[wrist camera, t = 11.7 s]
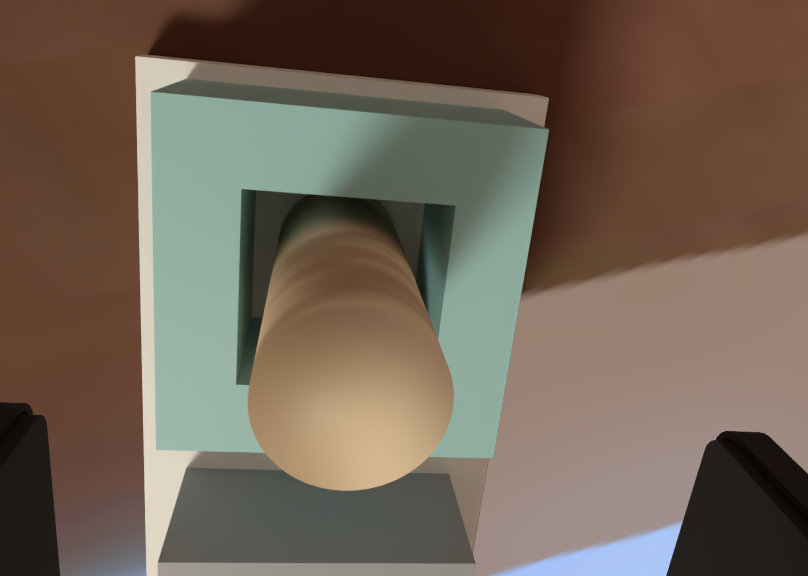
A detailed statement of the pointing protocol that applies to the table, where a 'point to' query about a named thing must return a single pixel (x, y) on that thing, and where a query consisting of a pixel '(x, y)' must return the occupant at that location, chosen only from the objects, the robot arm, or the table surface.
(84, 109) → the table surface
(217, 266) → the dock board
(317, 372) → the beech pin
